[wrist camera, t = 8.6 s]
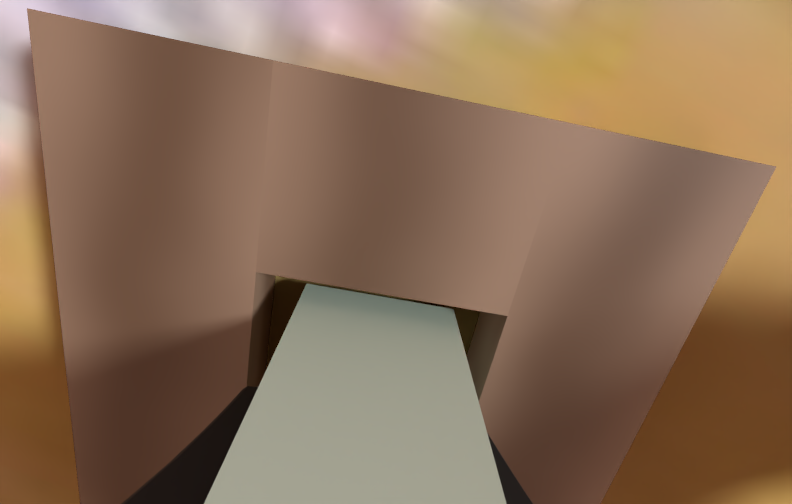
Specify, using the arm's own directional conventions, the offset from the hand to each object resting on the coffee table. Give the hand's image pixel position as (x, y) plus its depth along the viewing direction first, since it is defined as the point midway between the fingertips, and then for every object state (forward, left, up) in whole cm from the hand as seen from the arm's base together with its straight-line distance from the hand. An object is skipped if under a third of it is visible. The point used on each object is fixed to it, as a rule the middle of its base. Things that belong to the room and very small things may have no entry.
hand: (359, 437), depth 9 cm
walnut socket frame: (0, 0, -3) cm, 3 cm away
